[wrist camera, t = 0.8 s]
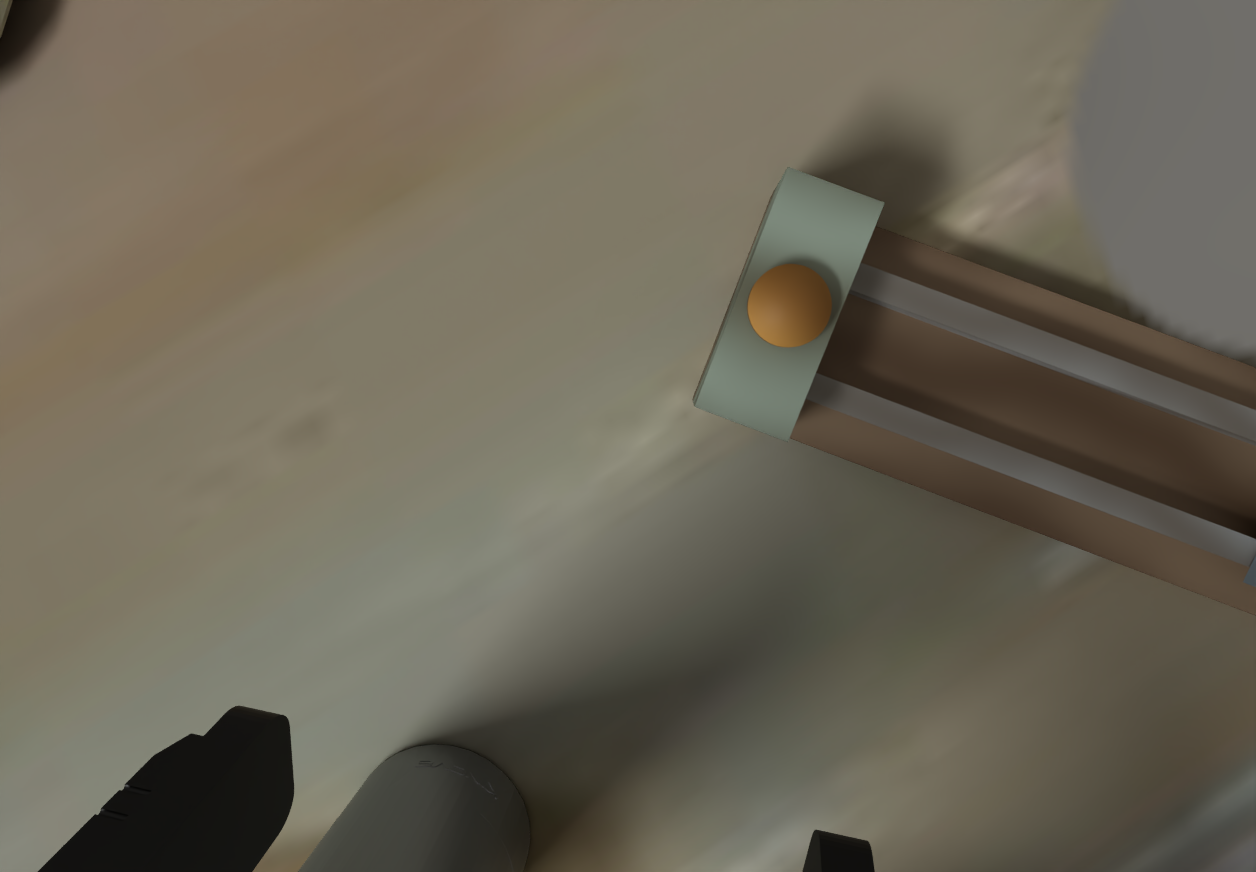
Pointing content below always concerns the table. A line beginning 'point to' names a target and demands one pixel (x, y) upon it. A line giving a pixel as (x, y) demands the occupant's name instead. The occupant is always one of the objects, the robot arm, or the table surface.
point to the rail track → (990, 392)
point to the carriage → (1251, 574)
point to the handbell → (4, 13)
